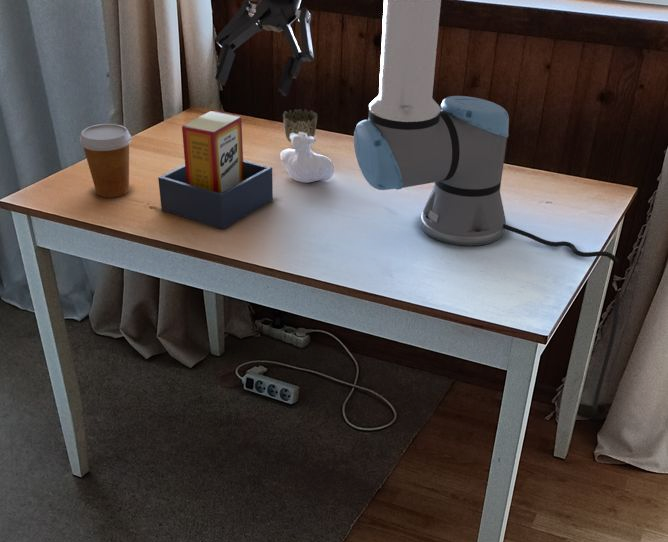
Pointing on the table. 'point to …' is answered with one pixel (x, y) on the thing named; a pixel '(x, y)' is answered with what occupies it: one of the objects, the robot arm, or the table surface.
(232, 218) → the bin
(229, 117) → the baking soda box
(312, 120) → the cup
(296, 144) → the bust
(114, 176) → the disposable coffee cup
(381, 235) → the table surface
